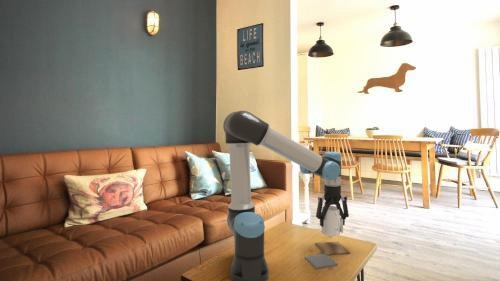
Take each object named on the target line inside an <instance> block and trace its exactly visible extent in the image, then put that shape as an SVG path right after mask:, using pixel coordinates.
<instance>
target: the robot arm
mask: <svg viewBox="0 0 500 281" xmlns="http://www.w3.org/2000/svg"><path fill="white" fill-rule="evenodd" d="M222 128H223V131H224V135H225V136H224V138H225V145H226V146H228V150H229V168H230V169H229V170H230V171H229V172H230V195H231V196H230V197H231V199H230V201H231V202H230V203H229V204H228V205H227V207H228V208H227V210H228V211H227V212H228V213H227V215H226V222H227V226H228V228H229V230H230V231H231V234H232V235H233V239H234V258H233V260H232V263H231V267H230V269H229V270H230V271H229V274H230V275H229V276H230V279H231V280H232V281H267V280H268V279H269V276H270V274H269V273H270V270H269V267H268V263H267V260H266V257H265V228H266V227H265V226H266V225H265V219H264V218H263V217H262V215H261V214H259V213H256V205H255V203H254V202H253V201H252V193H251V192H252V190H251V189H252V187H251V166H250V165H251V160H250V146H251V145H255V146H257V147H258V146H262V147H265V148H266V149H268V150H270V151H272V152H273V153H275V154H278V155H280V156H281V157H283V158H285V159H287V160H289V161H291V162H292V163H294V164H297V165H299V170H300V172H301V173H302V174H305V175H311V174H312V175H315V176H318V177H321V178H323V180H324V181H323V183H324V185H323V189H324V190H323V196H321V197H320V196H318V197H317V200H318V202H317V207H316V212H315V213H316V214H315V218H317V219H318V220H319V226H320V227H321V233H322V234H323V235H325V220H324V218H325V215H326V213H327V211H328V208H329V207H330V206H336V207H337V209H339V211H340V221H341V226H340V234H342V233H343V234H344V226H345V224H346V223H345V222H346V219H347V218H349V216H350V215H349V208H348V203H347V200H348V197H347V196H345V195H341V194H342V186H341V185H342V154H341V152H339V151H325V152H324V154H323V156H322V155H320V154H319V153H317V152H315V151H314V150H313V151H312V150H311V149H310V148H308V147H305V146H303V145H302V144H300V143H298V142H296V141H295V140H294V139H293V140H292V139H291V138H289V137H287V136H286V135H284V134H282V133H280V132H279V131H278V130H277V131H276V130H275V129H273V128H271V127H270V124H269V123H268V122H266V121H265V120H262V119H261V118H260V117H258V116H256V115H254V114H253V113H251V112H249V111H248V110H247V111H246V110H238V111H233V112H231V113H229V114H228V115H227V116H226V117H225V119H224V121H223V126H222ZM340 201H341V203H340ZM323 203H324V205H323ZM341 205H342V206H341ZM323 206H324V207H323ZM322 207H323V210H322Z"/></svg>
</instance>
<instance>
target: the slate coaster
mask: <svg viewBox="0 0 500 281" xmlns="http://www.w3.org/2000/svg"><path fill="white" fill-rule="evenodd" d="M304 259H305V260H306V261H307V262H308V263H309V264H310V265H312V266H313V267H314V268H315V269H316V270H319V269H325V268H330V267H336V266H338V265H339V264H338V262H337V261H335V260H333V259H332V257H330V256H329V255H328V256H327V255H326V254H323V253H320V254H319V253H318V254H313V255H308V256H306V255H305V256H304Z"/></svg>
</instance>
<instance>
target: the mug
mask: <svg viewBox="0 0 500 281" xmlns="http://www.w3.org/2000/svg"><path fill="white" fill-rule="evenodd" d="M323 207H324V205H322V210H323ZM340 217H341V216H340V211H339V209H337V207H336V205H330V207H329V208H328V211H327V213H326V215H325V218H324V220H325V234H324V235H325V236H329V237H330V236H331V237H337V236H339V235H340V234H341V232H340V226H341V221H340Z"/></svg>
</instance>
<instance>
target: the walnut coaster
mask: <svg viewBox="0 0 500 281" xmlns="http://www.w3.org/2000/svg"><path fill="white" fill-rule="evenodd" d="M314 245H315V246H316V247H317V249H318V250H319V251H320V252H321V254H326V255H327V256H328V257H329V256H338V255H340V256H341V255H349V254H350V253H351V252H350V251H349V249H347V248H346V247H345V246H344V245H343V244H341V242H340V241H327V242H326V241H325V242H324V241H323V242H315V243H314Z"/></svg>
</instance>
